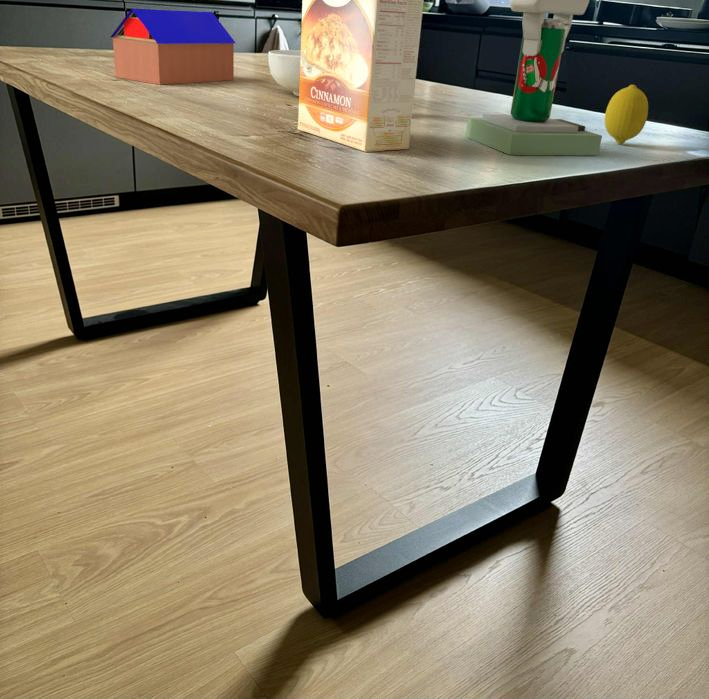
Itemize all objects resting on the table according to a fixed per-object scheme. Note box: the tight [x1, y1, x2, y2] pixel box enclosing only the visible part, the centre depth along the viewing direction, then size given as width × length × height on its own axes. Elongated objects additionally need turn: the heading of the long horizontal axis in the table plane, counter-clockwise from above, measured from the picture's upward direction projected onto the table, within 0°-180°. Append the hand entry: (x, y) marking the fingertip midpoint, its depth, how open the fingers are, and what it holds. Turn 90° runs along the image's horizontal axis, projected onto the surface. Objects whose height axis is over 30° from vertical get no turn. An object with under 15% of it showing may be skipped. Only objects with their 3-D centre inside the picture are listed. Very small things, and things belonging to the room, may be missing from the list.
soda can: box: [510, 17, 566, 122], centre depth 90 cm, size 5×5×12 cm
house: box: [110, 8, 236, 86], centre depth 133 cm, size 12×20×12 cm, turn 147°
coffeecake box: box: [297, 0, 425, 153], centre depth 85 cm, size 15×7×20 cm, turn 36°
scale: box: [465, 113, 603, 156], centre depth 94 cm, size 13×12×3 cm
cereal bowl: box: [267, 49, 301, 97], centre depth 125 cm, size 17×17×7 cm
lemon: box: [604, 84, 649, 145], centre depth 100 cm, size 6×6×8 cm
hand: (543, 54), depth 90 cm, fingers open, 8 cm apart
